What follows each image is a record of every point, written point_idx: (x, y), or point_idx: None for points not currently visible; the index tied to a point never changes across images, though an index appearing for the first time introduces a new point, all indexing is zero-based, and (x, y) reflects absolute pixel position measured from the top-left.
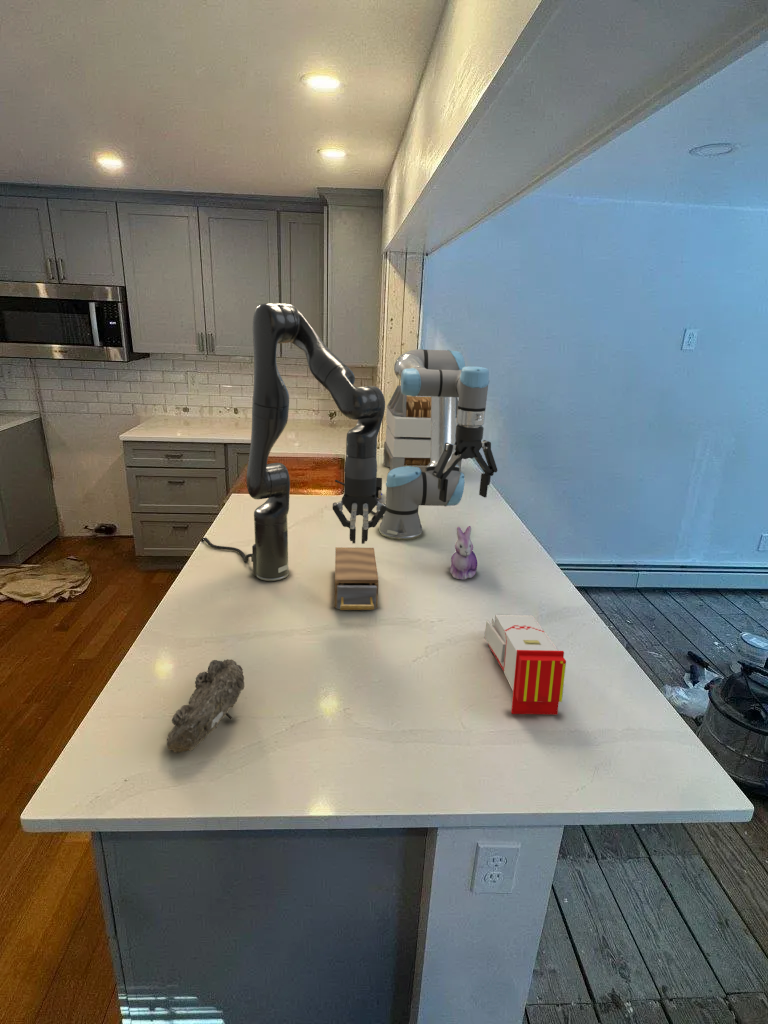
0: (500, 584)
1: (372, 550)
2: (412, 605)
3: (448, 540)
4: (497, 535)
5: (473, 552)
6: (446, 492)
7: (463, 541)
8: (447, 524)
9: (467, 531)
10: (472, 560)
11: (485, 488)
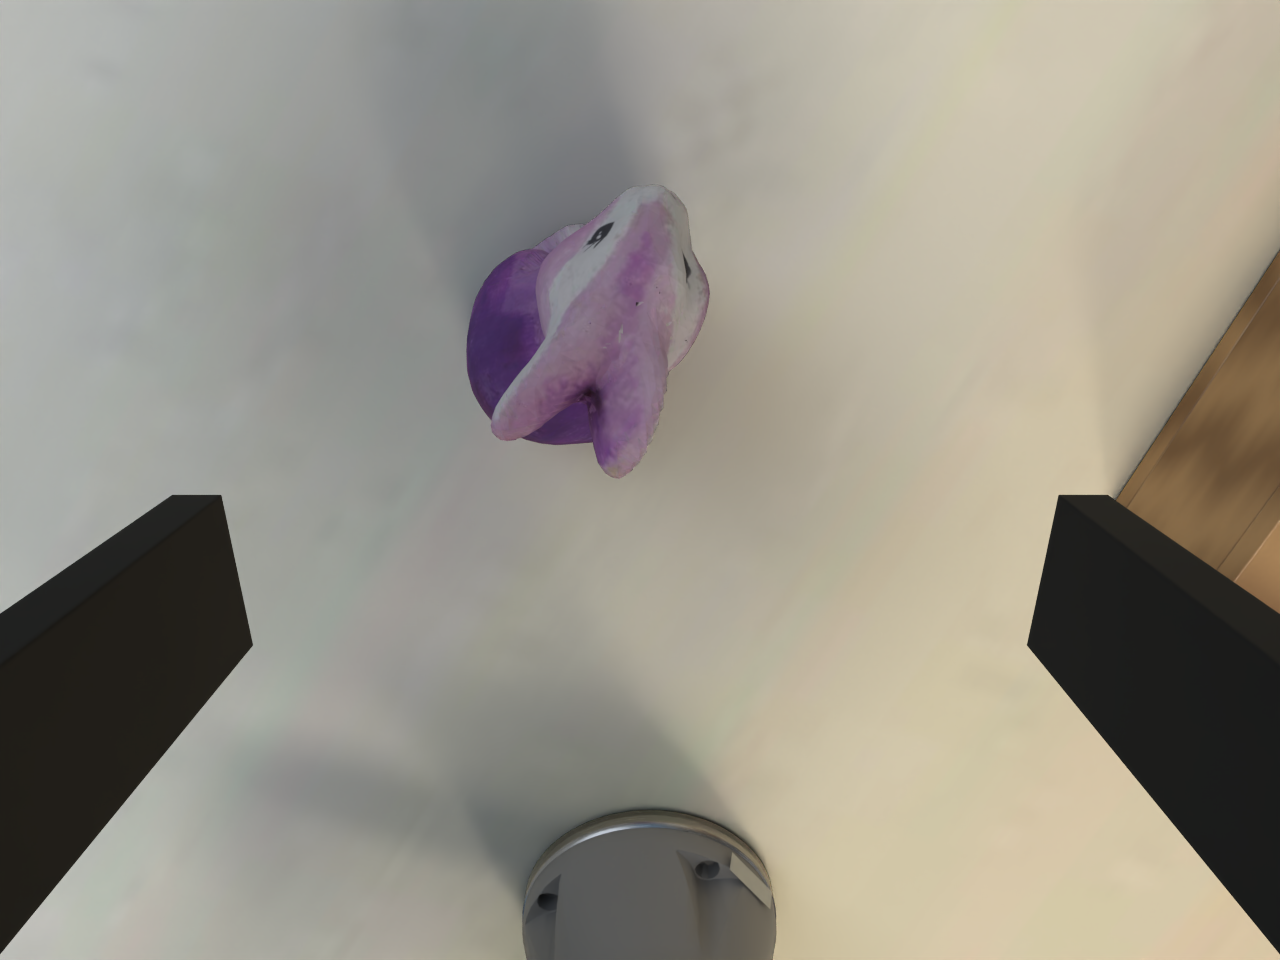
0: (412, 60)
1: (1268, 554)
2: (1176, 5)
3: (426, 744)
4: None
5: (488, 343)
6: (1190, 584)
7: (658, 275)
8: (325, 917)
9: (565, 367)
10: (539, 269)
11: (103, 581)
